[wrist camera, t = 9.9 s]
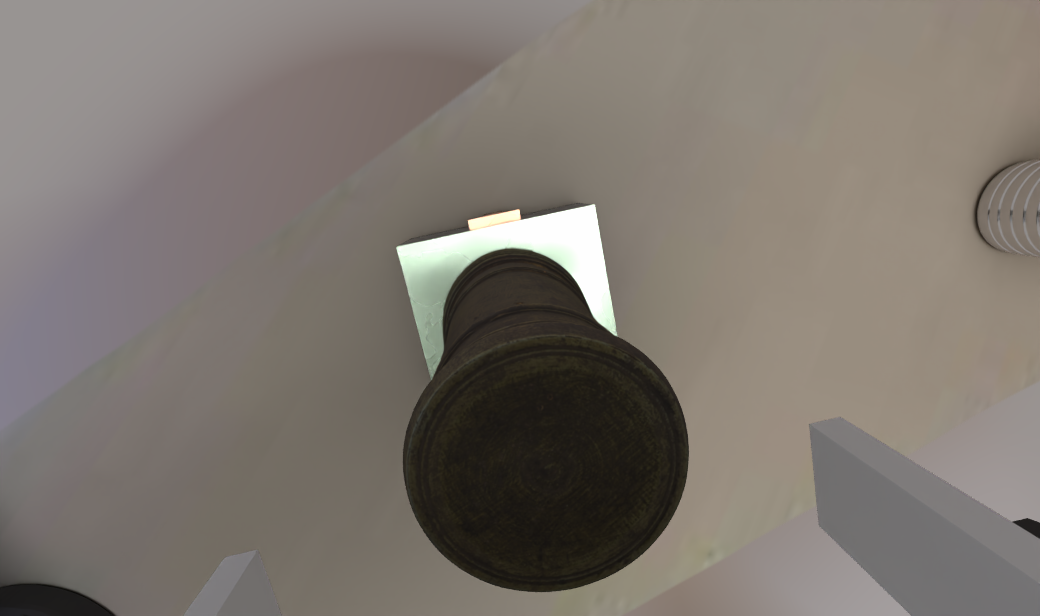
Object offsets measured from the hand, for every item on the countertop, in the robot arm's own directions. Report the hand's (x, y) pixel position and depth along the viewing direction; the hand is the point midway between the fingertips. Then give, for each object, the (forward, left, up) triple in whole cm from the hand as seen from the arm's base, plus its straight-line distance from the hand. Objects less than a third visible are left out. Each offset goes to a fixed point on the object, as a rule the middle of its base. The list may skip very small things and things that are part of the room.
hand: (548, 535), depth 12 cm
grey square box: (0, 0, -27) cm, 27 cm away
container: (0, 0, -21) cm, 21 cm away
